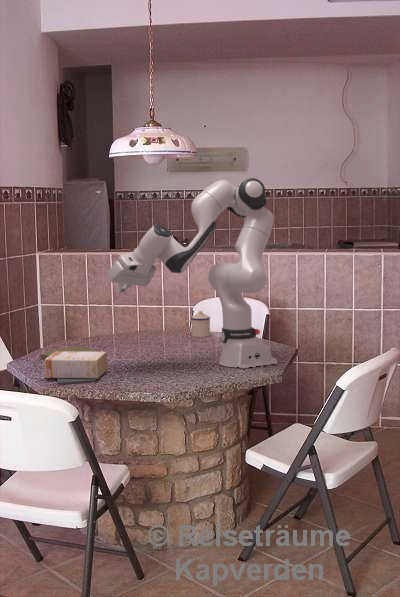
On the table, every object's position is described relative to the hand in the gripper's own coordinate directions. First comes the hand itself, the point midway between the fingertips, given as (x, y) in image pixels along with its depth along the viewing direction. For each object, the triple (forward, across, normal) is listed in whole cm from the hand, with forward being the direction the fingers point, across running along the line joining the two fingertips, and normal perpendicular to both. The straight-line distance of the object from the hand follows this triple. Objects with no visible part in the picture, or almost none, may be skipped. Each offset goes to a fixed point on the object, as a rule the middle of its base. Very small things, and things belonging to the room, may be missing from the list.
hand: (120, 290), depth 280 cm
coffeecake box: (+19, +10, +21) cm, 30 cm away
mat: (+27, +17, +19) cm, 38 cm away
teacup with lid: (+24, -72, -3) cm, 76 cm away
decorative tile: (+41, -6, -4) cm, 42 cm away
